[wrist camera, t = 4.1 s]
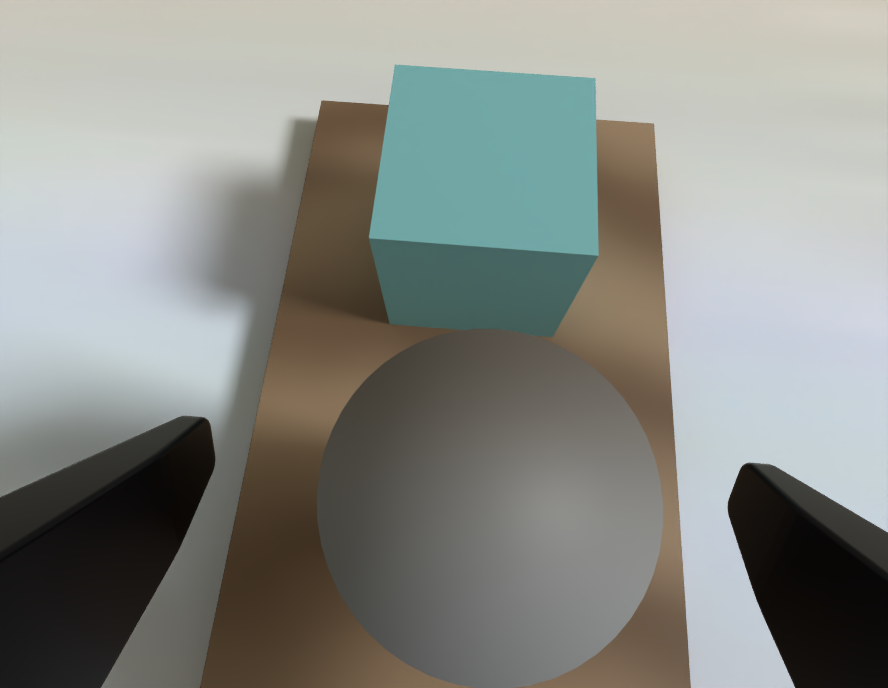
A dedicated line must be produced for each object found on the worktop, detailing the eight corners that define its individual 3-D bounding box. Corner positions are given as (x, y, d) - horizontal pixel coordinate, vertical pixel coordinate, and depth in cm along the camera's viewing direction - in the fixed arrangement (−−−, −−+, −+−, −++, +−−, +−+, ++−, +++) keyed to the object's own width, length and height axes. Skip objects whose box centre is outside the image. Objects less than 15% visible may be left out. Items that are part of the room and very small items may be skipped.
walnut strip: (677, 748, 13) (1475, 1464, 3) (211, 702, 14) (-498, 1219, 3) (643, 143, 20) (864, -283, 10) (327, 120, 20) (207, -317, 10)
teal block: (552, 337, 16) (598, 255, 11) (389, 324, 16) (368, 238, 12) (554, 198, 18) (595, 78, 13) (407, 188, 18) (394, 64, 13)
